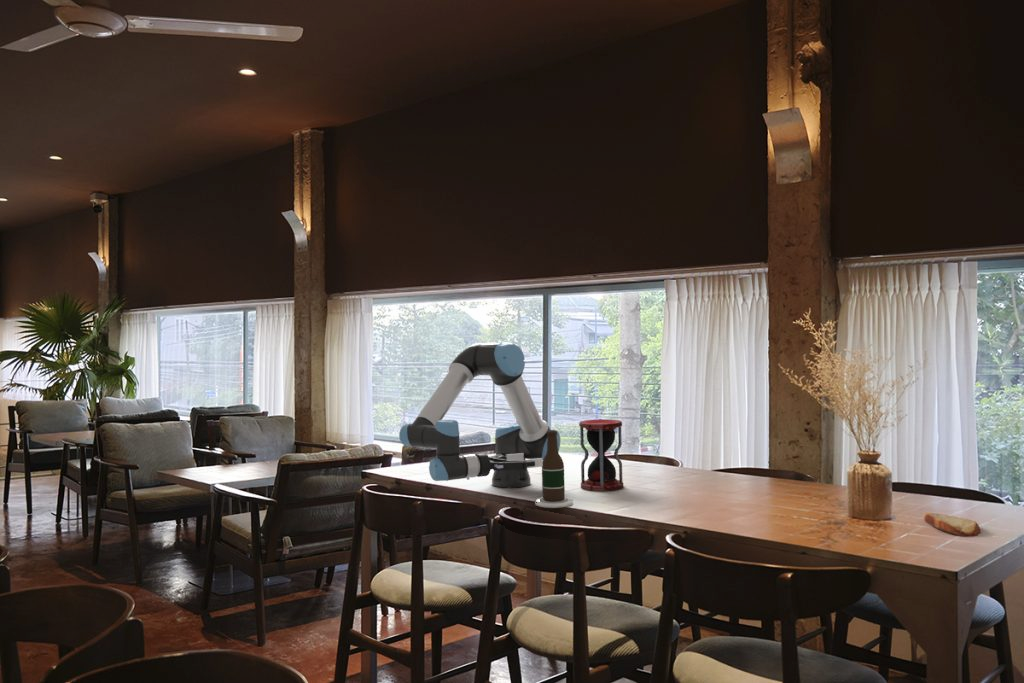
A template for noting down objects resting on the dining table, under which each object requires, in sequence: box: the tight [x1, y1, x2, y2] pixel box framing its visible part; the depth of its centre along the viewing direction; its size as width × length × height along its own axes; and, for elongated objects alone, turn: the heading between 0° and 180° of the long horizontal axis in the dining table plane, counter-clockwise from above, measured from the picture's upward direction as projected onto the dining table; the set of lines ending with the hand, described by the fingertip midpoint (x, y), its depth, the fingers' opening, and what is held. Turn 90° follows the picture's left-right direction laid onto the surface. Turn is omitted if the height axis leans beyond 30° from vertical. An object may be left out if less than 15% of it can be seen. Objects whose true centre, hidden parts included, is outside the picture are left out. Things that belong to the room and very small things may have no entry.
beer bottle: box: [541, 429, 566, 502], centre depth 285 cm, size 8×8×24 cm
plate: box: [534, 496, 574, 509], centre depth 285 cm, size 13×13×1 cm
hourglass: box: [578, 418, 624, 492], centre depth 312 cm, size 16×16×25 cm
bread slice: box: [923, 512, 981, 538], centre depth 240 cm, size 18×18×4 cm
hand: (532, 459), depth 281 cm, fingers open, 13 cm apart
